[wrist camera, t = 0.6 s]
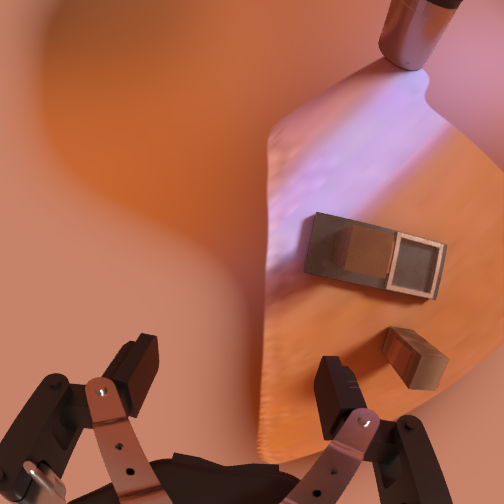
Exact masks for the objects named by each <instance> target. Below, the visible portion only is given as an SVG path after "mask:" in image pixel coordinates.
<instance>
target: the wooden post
mask: <svg viewBox="0 0 504 504" xmlns="http://www.w3.org/2000/svg"><path fill="white" fill-rule="evenodd" d="M382 353H383V354H384V356H385V357H386V358H387V360H388V361H389V362H390V364H391V365H392V366H393V368H394V369H395V371H396V372H397V373H398V375H399V376H400V378H401V379H402V380H403V382H404V383H405V385H406V386H407V387H408V389H417V390H437V387H438V385H439V383H440V381H441V378H442V376H443V373H444V371H445V369H446V366H447V363H448V361H449V358H448V357H446V356H445V355H444V354H443V353H441V352H440V351H439V350H438V349H436V348H435V347H434V346H432V345H431V344H430V343H429V342H427V341H426V340H425V339H424V338H422V337H421V336H420V335H418V334H417V333H416V332H415V331H413V330H409V329H403V328H397V327H391V326H390V328H389V331H388V334H387V337H386V340H385V343H384V346H383V349H382Z"/></svg>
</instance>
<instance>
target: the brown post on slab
mask: <svg viewBox="0 0 504 504" xmlns="http://www.w3.org/2000/svg"><path fill="white" fill-rule="evenodd" d="M446 249H447V245H446V244H442V243H439V242H435V241H432V240H428V239H425V238H421V237H418V236H414V235H410V234H406V233H403V232H399V231H395V230H391V229H387V228H383V227H379V226H375V225H371V224H367V223H363V222H359V221H355V220H351V219H346V218H342V217H337V216H333V215H329V214H324V213H319V212H316V215H315V220H314V225H313V230H312V235H311V240H310V245H309V249H308V254H307V259H306V263H305V268H304V272H305V273H309V274H314V275H318V276H323V277H328V278H332V279H337V280H341V281H346V282H351V283H356V284H360V285H365V286H370V287H374V288H379V289H384V290H389V291H393V292H398V293H403V294H408V295H413V296H417V297H422V298H427V299H432V300H436V297H437V293H438V289H439V285H440V280H441V276H442V271H443V266H444V261H445V255H446Z"/></svg>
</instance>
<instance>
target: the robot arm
mask: <svg viewBox="0 0 504 504" xmlns="http://www.w3.org/2000/svg"><path fill="white" fill-rule="evenodd" d="M462 1H463V0H391V3H390V7H389V10H388V13H387V17H386V20H385V23H384V26H383V29H382V33H381V36H380V39H379V43H378V44H379V48H380V51H381V52H382V54H383V55H384V56H385V57H386V58H387V59H388V60H389V61H390V62H392V63H393V64H395V65H397V66H399V67H401V68H404V69H407V70H419V69H421V68H423V66H424V65H425V63H426V62H427V60H428V59H429V57H430V55H431V54H432V52H433V50H434V49H435V47H436V45H437V43H438V42H439V40H440V38H441V36H442V35H443V33H444V32H445V30H446V28H447V27H448V25H449V23H450V21H451V19H452V17H453V16H454V14H455V12H456V10H457V9H458V7H459V5H460V3H461V2H462ZM158 368H159V353H158V341H157V336H154V335H149V334H144V333H141V334H140V336H139V337H138V339H137V340H136V342H134V341H129V342H128V343H126V344H125V345H123V346H122V348H121V349H120V350H119V352H118V353H117V355H116V356H115V359H113V361H112V362H111V364H110V365H109V367H108V368H107V369H106V371H105V373H104V374H103V375H102V377H98V378H94V379H92V380H90V381H89V382H88V383H87V384H86V385H80V384H70V383H69V381H68V379H67V377H66V376H64V375H62V374H58V373H54V374H50V375H48V376H46V377H45V378H44V379H43V381H42V382H41V383H40V385H39V386H38V387H37V389H36V390H35V391H34V393H33V394H32V396H31V397H30V398H29V400H28V401H27V403H26V404H25V406H24V407H23V409H22V410H21V412H20V413H19V415H18V416H17V418H16V419H15V421H14V422H13V424H12V425H11V427H10V428H9V430H8V432H7V433H6V435H5V437H4V438H3V439H2V441H1V443H0V494H1V495H2V496H3V497H4V498H5V499H7V500H8V501H9V502H10V503H12V504H66V501H65V494H66V488H65V485H64V483H63V482H62V481H61V477H62V475H63V473H64V470H65V468H66V466H67V463H68V461H69V459H70V457H71V454H72V452H73V450H74V448H75V446H76V443H77V441H78V439H79V437H80V435H81V433H82V431H83V428H90V429H93V430H94V433H95V436H96V439H97V442H98V446H99V449H100V452H101V455H102V457H103V460H104V463H105V466H106V468H107V471H108V473H109V476H110V478H111V481H112V482H111V483H109V484H107V485H105V486H103V487H101V488H99V489H97V490H95V491H93V492H90V493H88V494H86V495H84V496H81V497H79V498H77V499H74V500H72V501H70V502H68V503H67V504H335V503H336V501H337V500H338V499H339V498H340V496H341V495H342V493H343V491H344V490H345V488H346V487H347V485H348V484H349V482H350V481H351V479H352V477H353V476H354V474H355V472H356V471H357V469H358V467H359V465H360V464H361V462H362V461H369V462H372V463H373V468H374V472H375V477H376V482H377V487H378V492H379V497H380V502H381V504H453V502H452V500H451V496H450V493H449V490H448V487H447V484H446V482H445V479H444V476H443V473H442V471H441V468H440V465H439V463H438V460H437V457H436V455H435V452H434V450H433V447H432V445H431V442H430V440H429V438H428V435H427V433H426V431H425V428H424V426H423V424H422V422H421V421H420V420H419V419H418V418H417V417H415V416H412V415H404V416H401V417H400V418H399V419H398V420H397V422H392V421H386V420H381V419H379V416H378V415H377V414H376V413H375V412H374V411H372V410H370V409H368V408H367V406H366V403H365V400H364V398H363V395H362V393H361V390H360V388H359V385H358V382H357V380H356V377H355V375H354V373H353V372H352V371H351V370H350V369H349V368H348V367H347V366H342V364H341V361H340V359H339V357H338V356H323V357H322V359H321V362H320V365H319V368H318V371H317V374H316V377H315V380H314V392H315V397H316V402H317V407H318V412H319V417H320V422H321V427H322V432H323V437H324V440H332V441H331V442H330V444H329V445H328V446H327V448H326V449H325V450H324V452H323V453H322V454H321V456H320V457H319V459H318V460H317V461H316V462H315V464H314V465H313V466H312V467H311V469H310V470H309V471H308V472H307V473H306V475H305V476H304V477H303V478H302V479H301V480H300V479H298V478H296V477H295V476H293V475H290V474H288V473H285V472H281V471H279V465H275V464H245V465H236V466H222V465H219V464H216V463H213V462H211V461H208V460H205V459H202V458H200V457H195V456H189V455H184V454H179V453H174V454H173V457H172V459H160V460H155V461H152V462H148V460H147V458H146V456H145V454H144V452H143V450H142V448H141V446H140V444H139V442H138V439H137V437H136V435H135V433H134V431H133V428H132V426H131V423H130V421H129V419H128V417H129V416H131V417H134V418H137V416H138V413H139V411H140V409H141V407H142V404H143V402H144V400H145V398H146V395H147V393H148V391H149V388H150V386H151V384H152V382H153V380H154V378H155V376H156V373H157V371H158Z"/></svg>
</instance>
